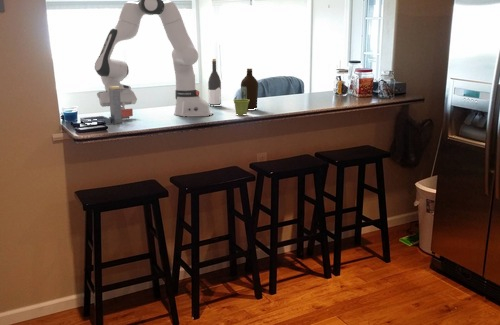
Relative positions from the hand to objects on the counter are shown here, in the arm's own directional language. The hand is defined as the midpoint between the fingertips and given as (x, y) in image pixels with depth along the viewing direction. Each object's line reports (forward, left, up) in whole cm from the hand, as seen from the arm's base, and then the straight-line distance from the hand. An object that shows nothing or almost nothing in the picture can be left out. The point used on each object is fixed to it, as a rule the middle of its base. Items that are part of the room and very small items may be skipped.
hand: (122, 110), depth 267 cm
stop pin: (0, +13, -5) cm, 14 cm away
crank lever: (0, +5, -4) cm, 6 cm away
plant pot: (-65, -14, -5) cm, 67 cm away
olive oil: (-70, -35, -5) cm, 79 cm away
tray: (+12, +11, -5) cm, 17 cm away
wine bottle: (-48, -52, -5) cm, 71 cm away
